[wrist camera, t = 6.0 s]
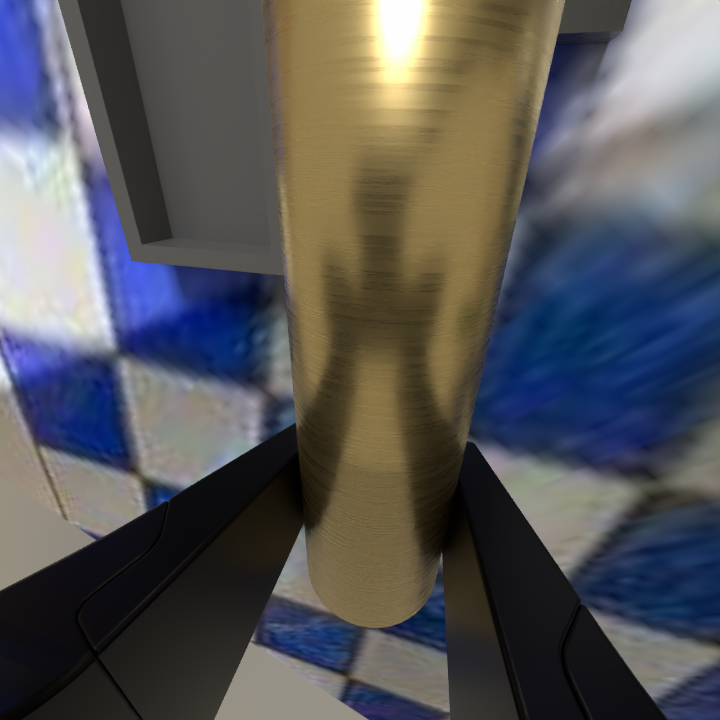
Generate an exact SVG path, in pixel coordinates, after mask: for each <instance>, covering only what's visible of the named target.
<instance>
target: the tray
mask: <svg viewBox="0 0 720 720" xmlns="http://www.w3.org/2000/svg"><path fill="white" fill-rule="evenodd" d="M58 2H59V5H60V9H61V12H62V16H63V19H64V23H65V26H66V30H67V33H68V37H69V41H70V44H71V48H72V51H73V55H74V58H75V62H76V65H77V69H78V72H79V76H80V79H81V83H82V87H83V90H84V94H85V97H86V101H87V104H88V108H89V111H90V115H91V118H92V122H93V125H94V129H95V133H96V136H97V140H98V143H99V147H100V150H101V154H102V157H103V161H104V164H105V168H106V171H107V175H108V178H109V182H110V186H111V189H112V193H113V196H114V200H115V203H116V207H117V210H118V214H119V217H120V221H121V224H122V228H123V232H124V235H125V239H126V242H127V246H128V249H129V253H130V256H131V260H132V261H135V262H146V263H156V264H167V265H178V266H188V267H199V268H209V269H220V270H231V271H241V272H252V273H262V274H273V275H283V276H284V271H283V259H282V246H281V234H280V222H279V210H278V198H277V186H276V174H275V162H274V150H273V137H272V125H271V113H270V101H269V89H268V77H267V65H266V53H265V41H264V29H263V16H262V4H261V0H58Z"/></svg>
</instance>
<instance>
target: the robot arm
mask: <svg viewBox="0 0 720 720" xmlns="http://www.w3.org/2000/svg"><path fill="white" fill-rule="evenodd" d="M303 523H304V513H303V501H302V489H301V477H300V464H299V452H298V440H297V428H296V423H294V424H293V425H291V426H289V427H288V428H286V429H284V430H283V431H281V432H279V433H278V434H276V435H274V436H273V437H271V438H269V439H268V440H266V441H264V442H263V443H261V444H259V445H258V446H256V447H254V448H253V449H251V450H249V451H248V452H246V453H244V454H243V455H241V456H239V457H238V458H236V459H234V460H233V461H231V462H229V463H228V464H226V465H224V466H223V467H221V468H220V469H218V470H216V471H215V472H213V473H211V474H210V475H208V476H206V477H205V478H203V479H201V480H200V481H198V482H196V483H195V484H193V485H191V486H190V487H188V488H186V489H185V490H183V491H181V492H180V493H178V494H176V495H175V496H173V497H171V498H170V499H169V502H168V501H164V502H163V503H161V504H159V505H158V506H156V507H154V508H153V509H151V510H149V511H148V512H146V513H144V514H143V515H141V516H139V517H137V518H136V519H134V520H132V521H131V522H129V523H127V524H125V525H124V526H122V527H120V528H118V529H117V530H115V531H113V532H111V533H110V534H108V535H106V536H104V537H102V538H100V539H98V540H97V541H95V542H93V543H91V544H89V545H87V546H86V547H83V548H82V549H80V550H78V551H76V552H74V553H72V554H70V555H68V556H66V557H64V558H63V559H61V560H59V561H57V562H55V563H53V564H51V565H49V566H47V567H45V568H43V569H41V570H39V571H37V572H35V573H34V574H32V575H30V576H28V577H26V578H24V579H22V580H20V581H18V582H16V583H14V584H12V585H10V586H8V587H6V588H5V589H3V590H1V591H0V720H214V719H215V716H216V714H217V712H218V710H219V707H220V705H221V703H222V701H223V699H224V696H225V694H226V692H227V690H228V688H229V686H230V683H231V681H232V679H233V677H234V675H235V673H236V670H237V668H238V666H239V664H240V661H241V659H242V657H243V655H244V653H245V651H246V648H247V646H248V644H249V642H250V640H251V637H252V635H253V633H254V631H255V629H256V626H257V624H258V622H259V620H260V618H261V616H262V613H263V611H264V609H265V607H266V605H267V602H268V600H269V598H270V596H271V594H272V591H273V589H274V587H275V585H276V583H277V580H278V578H279V576H280V574H281V572H282V569H283V567H284V565H285V563H286V561H287V558H288V556H289V554H290V552H291V550H292V547H293V545H294V543H295V541H296V539H297V537H298V534H299V532H300V530H301V528H302V526H303ZM442 559H443V579H444V599H445V619H446V639H447V660H448V680H449V700H450V720H668V719H667V718H666V717H665V715H664V714H663V713H662V711H661V710H660V709H659V707H658V706H657V705H656V703H655V702H654V701H653V700H652V698H651V697H650V696H649V694H648V693H647V692H646V690H645V689H644V688H643V686H642V685H641V684H640V682H639V681H638V680H637V678H636V677H635V676H634V674H633V673H632V671H631V670H630V669H629V667H628V666H627V664H626V663H625V662H624V660H623V659H622V657H621V656H620V655H619V653H618V652H617V650H616V649H615V648H614V646H613V645H612V643H611V642H610V641H609V639H608V638H607V636H606V635H605V634H604V632H603V631H602V629H601V628H600V626H599V625H598V623H597V622H596V620H595V619H594V617H593V616H592V615H591V613H590V612H589V610H588V609H587V607H586V606H585V605H581V599H580V597H579V596H578V594H577V593H576V591H575V590H574V588H573V587H572V586H571V584H570V583H569V581H568V580H567V578H566V577H565V575H564V574H563V572H562V571H561V569H560V568H559V566H558V565H557V564H556V562H555V561H554V559H553V558H552V556H551V555H550V553H549V552H548V550H547V549H546V547H545V546H544V545H543V543H542V542H541V540H540V539H539V537H538V536H537V534H536V533H535V531H534V530H533V528H532V527H531V525H530V524H529V523H528V521H527V520H526V518H525V517H524V515H523V514H522V512H521V511H520V509H519V508H518V506H517V505H516V504H515V502H514V501H513V499H512V498H511V496H510V495H509V493H508V492H507V490H506V489H505V487H504V486H503V484H502V483H501V482H500V480H499V479H498V477H497V476H496V474H495V473H494V471H493V470H492V468H491V467H490V465H489V464H488V462H487V461H486V460H485V458H484V457H483V455H482V454H481V452H480V451H479V449H478V448H477V446H476V445H475V444H474V443H472V442H468V441H467V442H466V447H465V451H464V455H463V460H462V464H461V469H460V473H459V478H458V482H457V487H456V491H455V496H454V500H453V505H452V509H451V514H450V518H449V523H448V527H447V532H446V536H445V540H444V545H443V549H442ZM580 605H581V606H580Z"/></svg>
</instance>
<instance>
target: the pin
mask: <svg viewBox="0 0 720 720" xmlns="http://www.w3.org/2000/svg"><path fill="white" fill-rule="evenodd" d="M261 4H262V16H263V29H264V41H265V53H266V65H267V77H268V89H269V101H270V113H271V125H272V137H273V150H274V162H275V174H276V186H277V198H278V210H279V222H280V234H281V246H282V259H283V271H284V283H285V295H286V307H287V319H288V331H289V343H290V355H291V368H292V380H293V392H294V404H295V416H296V428H297V440H298V452H299V464H300V477H301V489H302V501H303V513H304V525H305V537H306V549H307V561H308V570H309V576H310V579H311V583H312V585H313V587H314V590H315V592H316V593H317V595H318V597H319V598H320V600H321V601H322V602H323V603H324V605H325V606H326V607H327V608H328V609H329V610H330V611H332V612H333V613H334V614H335V615H337V616H338V617H340V618H341V619H343V620H345V621H347V622H349V623H352V624H355V625H358V626H363V627H369V628H382V627H389V626H392V625H396V624H399V623H401V622H403V621H405V620H407V619H409V618H410V617H411V616H413V615H414V614H416V613H417V612H418V611H419V610H420V609H421V608H422V607H423V605H424V604H425V603H426V601H427V600H428V598H429V596H430V595H431V593H432V590H433V587H434V585H435V581H436V576H437V572H438V567H439V563H440V558H441V554H442V549H443V545H444V540H445V536H446V532H447V527H448V523H449V518H450V514H451V509H452V505H453V500H454V496H455V491H456V487H457V482H458V478H459V473H460V469H461V464H462V460H463V455H464V451H465V447H466V442H467V438H468V433H469V429H470V424H471V420H472V415H473V411H474V406H475V402H476V397H477V393H478V388H479V384H480V379H481V375H482V371H483V366H484V362H485V357H486V353H487V348H488V344H489V339H490V335H491V330H492V326H493V321H494V317H495V312H496V308H497V303H498V299H499V295H500V290H501V286H502V281H503V277H504V272H505V268H506V263H507V259H508V254H509V250H510V245H511V241H512V236H513V232H514V227H515V223H516V218H517V214H518V210H519V205H520V201H521V196H522V192H523V187H524V183H525V178H526V174H527V169H528V165H529V160H530V156H531V151H532V147H533V142H534V138H535V134H536V129H537V125H538V120H539V116H540V111H541V107H542V102H543V98H544V93H545V89H546V84H547V80H548V75H549V71H550V66H551V62H552V58H553V53H554V49H555V44H556V40H557V35H558V31H559V26H560V22H561V17H562V13H563V8H564V4H565V0H261Z"/></svg>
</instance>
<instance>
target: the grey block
mask: <svg viewBox="0 0 720 720" xmlns="http://www.w3.org/2000/svg"><path fill="white" fill-rule="evenodd" d="M630 3H631V0H565V4H564V8H563V13H562V17H561V22H560V26H559V31H558V35H557V40H556V44H580V43H604V42H610V41H611V40H612V39H614V38H615V37H616V36H617V35H618V34H619V33H620V32H621V31H623V27H624V24H625V20H626V17H627V14H628V10H629V7H630ZM556 44H555V45H556Z"/></svg>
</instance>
